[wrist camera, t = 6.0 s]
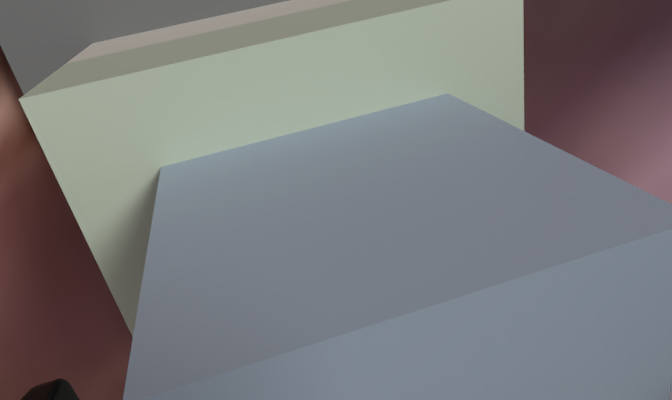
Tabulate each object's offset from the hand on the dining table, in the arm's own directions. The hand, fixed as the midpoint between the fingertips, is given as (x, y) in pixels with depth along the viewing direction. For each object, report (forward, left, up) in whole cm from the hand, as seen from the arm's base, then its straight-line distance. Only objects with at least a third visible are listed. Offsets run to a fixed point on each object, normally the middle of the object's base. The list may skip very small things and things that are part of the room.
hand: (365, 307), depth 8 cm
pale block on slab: (0, 0, -8) cm, 8 cm away
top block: (0, 0, -2) cm, 2 cm away
